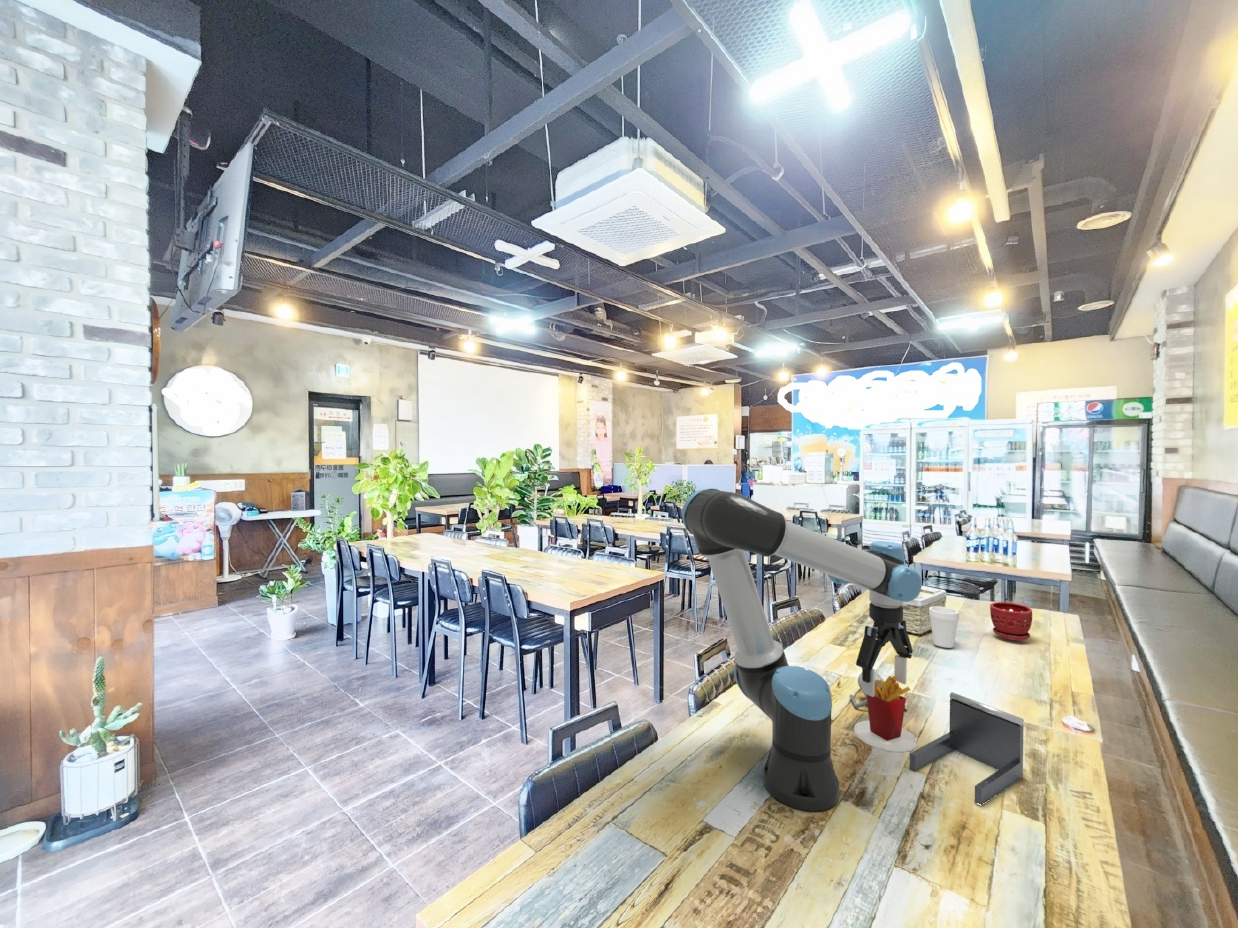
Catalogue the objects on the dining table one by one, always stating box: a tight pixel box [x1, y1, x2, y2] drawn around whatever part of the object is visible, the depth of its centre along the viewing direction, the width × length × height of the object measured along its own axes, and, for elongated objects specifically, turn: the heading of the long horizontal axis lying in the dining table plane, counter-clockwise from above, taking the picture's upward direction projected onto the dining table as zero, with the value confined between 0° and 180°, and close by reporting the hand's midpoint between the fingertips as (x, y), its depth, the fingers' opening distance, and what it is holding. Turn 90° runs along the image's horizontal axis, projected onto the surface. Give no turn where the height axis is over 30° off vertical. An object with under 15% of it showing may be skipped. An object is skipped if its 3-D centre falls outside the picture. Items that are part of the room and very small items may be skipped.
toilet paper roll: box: [849, 671, 886, 709], centre depth 146 cm, size 10×11×12 cm
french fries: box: [866, 675, 911, 741], centre depth 128 cm, size 9×8×15 cm
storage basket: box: [901, 585, 948, 635], centre depth 213 cm, size 24×16×15 cm
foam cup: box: [929, 606, 960, 649], centre depth 192 cm, size 10×9×13 cm
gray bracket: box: [909, 691, 1025, 806], centre depth 114 cm, size 19×14×14 cm
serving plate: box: [853, 719, 918, 754], centre depth 129 cm, size 14×14×1 cm
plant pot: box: [989, 601, 1033, 642], centre depth 200 cm, size 13×13×12 cm
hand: (884, 688), depth 128 cm, fingers open, 13 cm apart
